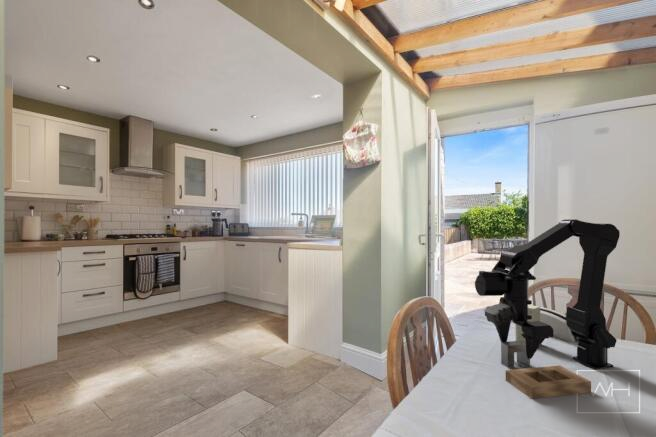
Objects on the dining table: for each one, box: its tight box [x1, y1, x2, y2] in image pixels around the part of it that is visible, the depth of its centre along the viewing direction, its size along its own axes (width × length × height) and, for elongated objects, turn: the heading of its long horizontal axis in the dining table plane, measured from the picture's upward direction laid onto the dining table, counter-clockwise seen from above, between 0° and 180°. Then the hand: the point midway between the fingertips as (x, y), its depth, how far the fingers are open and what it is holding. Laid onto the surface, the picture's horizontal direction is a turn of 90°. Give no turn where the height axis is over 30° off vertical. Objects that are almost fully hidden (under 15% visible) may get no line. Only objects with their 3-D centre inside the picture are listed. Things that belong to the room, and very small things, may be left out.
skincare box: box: [514, 304, 541, 342], centre depth 101 cm, size 6×4×12 cm
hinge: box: [539, 306, 579, 343], centre depth 109 cm, size 17×5×10 cm, turn 22°
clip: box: [500, 340, 531, 368], centre depth 85 cm, size 7×2×6 cm, turn 100°
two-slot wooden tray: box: [505, 364, 592, 400], centre depth 74 cm, size 16×8×2 cm, turn 100°
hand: (515, 351), depth 85 cm, fingers open, 9 cm apart
